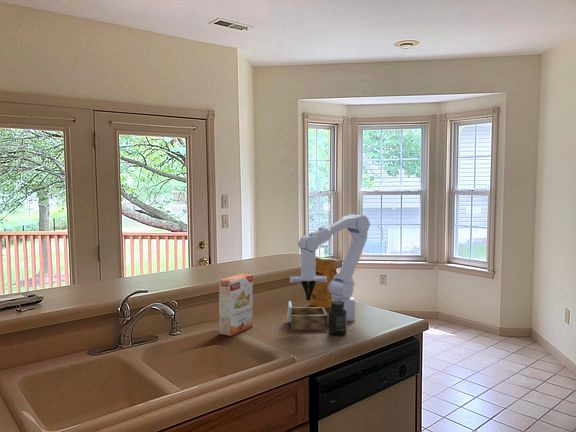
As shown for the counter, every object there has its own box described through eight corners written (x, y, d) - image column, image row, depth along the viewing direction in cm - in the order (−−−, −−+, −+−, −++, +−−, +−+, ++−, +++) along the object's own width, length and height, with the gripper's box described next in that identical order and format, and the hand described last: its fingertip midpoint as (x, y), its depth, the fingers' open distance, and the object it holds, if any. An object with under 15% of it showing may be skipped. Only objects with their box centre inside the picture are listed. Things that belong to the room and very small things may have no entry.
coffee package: (320, 301, 228) (320, 255, 226) (340, 306, 219) (340, 258, 217) (305, 304, 221) (305, 257, 219) (326, 310, 212) (326, 261, 210)
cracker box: (231, 337, 176) (230, 281, 175) (218, 334, 180) (217, 279, 178) (253, 327, 188) (253, 274, 187) (241, 324, 192) (241, 272, 190)
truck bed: (324, 320, 197) (324, 307, 197) (327, 329, 185) (327, 315, 185) (290, 320, 197) (290, 307, 196) (291, 329, 185) (291, 315, 184)
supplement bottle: (348, 332, 182) (349, 301, 181) (343, 337, 176) (343, 305, 175) (331, 329, 185) (331, 299, 184) (325, 335, 178) (325, 303, 177)
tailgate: (289, 316, 195) (291, 301, 195) (290, 323, 186) (292, 307, 185) (287, 316, 195) (288, 301, 195) (287, 323, 186) (289, 307, 185)
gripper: (290, 268, 185) (290, 302, 186) (327, 267, 185) (327, 302, 186) (289, 264, 192) (289, 298, 193) (325, 264, 192) (325, 297, 193)
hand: (308, 300), depth 190 cm, fingers closed
